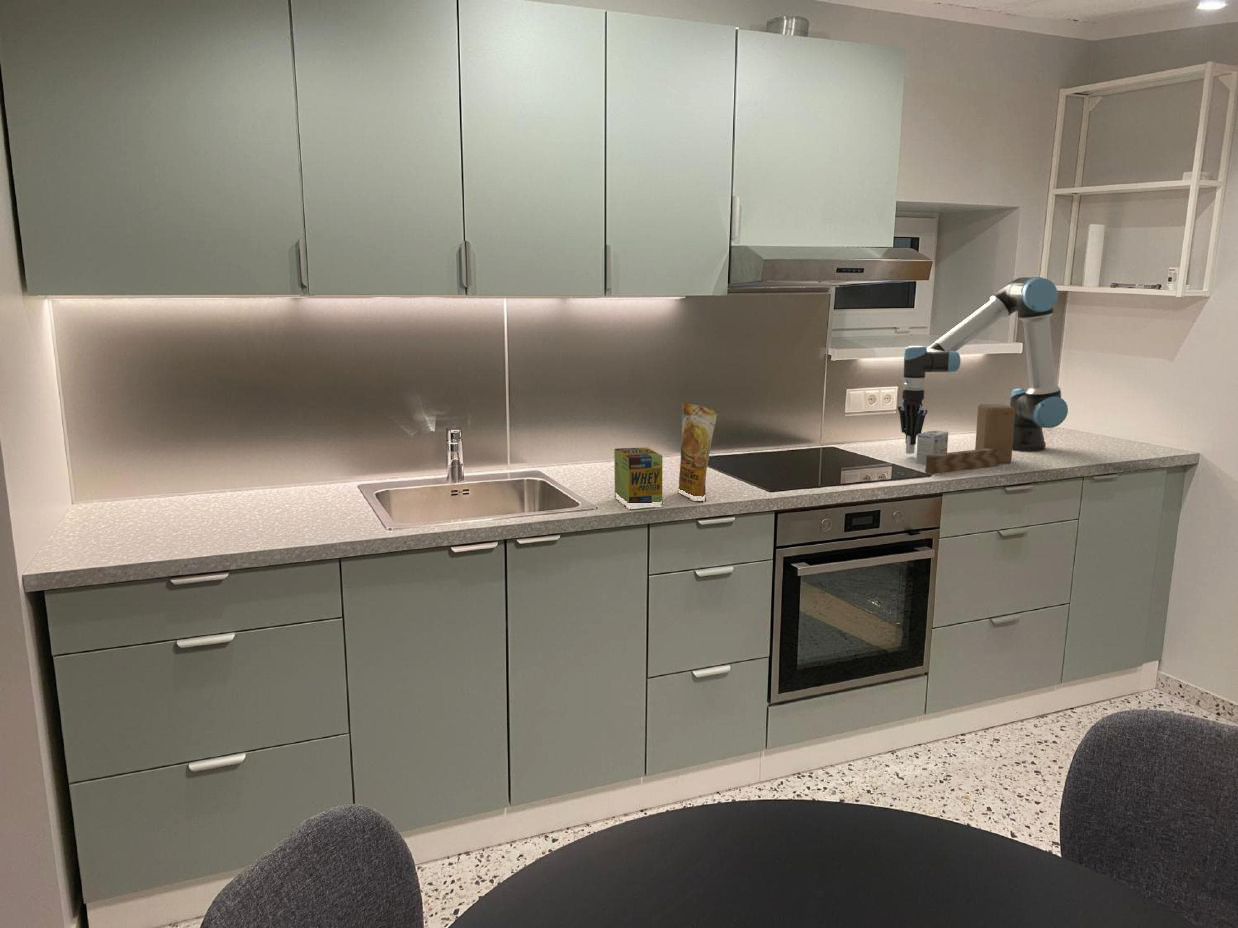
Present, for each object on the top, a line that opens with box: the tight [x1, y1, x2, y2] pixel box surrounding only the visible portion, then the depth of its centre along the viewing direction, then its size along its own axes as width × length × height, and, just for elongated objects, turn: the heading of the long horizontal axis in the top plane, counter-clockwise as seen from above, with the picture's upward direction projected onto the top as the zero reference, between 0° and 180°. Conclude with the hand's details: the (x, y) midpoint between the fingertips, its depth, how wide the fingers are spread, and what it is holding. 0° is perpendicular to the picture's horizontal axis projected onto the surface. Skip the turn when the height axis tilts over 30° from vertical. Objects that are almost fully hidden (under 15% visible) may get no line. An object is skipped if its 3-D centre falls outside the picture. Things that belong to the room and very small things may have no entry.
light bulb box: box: [915, 429, 949, 465], centre depth 328 cm, size 11×7×11 cm, turn 134°
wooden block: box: [974, 403, 1015, 465], centre depth 328 cm, size 10×10×20 cm
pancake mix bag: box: [678, 401, 719, 497], centre depth 278 cm, size 7×19×28 cm, turn 21°
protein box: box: [613, 446, 663, 503], centre depth 272 cm, size 10×15×16 cm
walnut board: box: [925, 448, 999, 475], centre depth 316 cm, size 30×3×6 cm, turn 115°
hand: (910, 453), depth 339 cm, fingers closed
